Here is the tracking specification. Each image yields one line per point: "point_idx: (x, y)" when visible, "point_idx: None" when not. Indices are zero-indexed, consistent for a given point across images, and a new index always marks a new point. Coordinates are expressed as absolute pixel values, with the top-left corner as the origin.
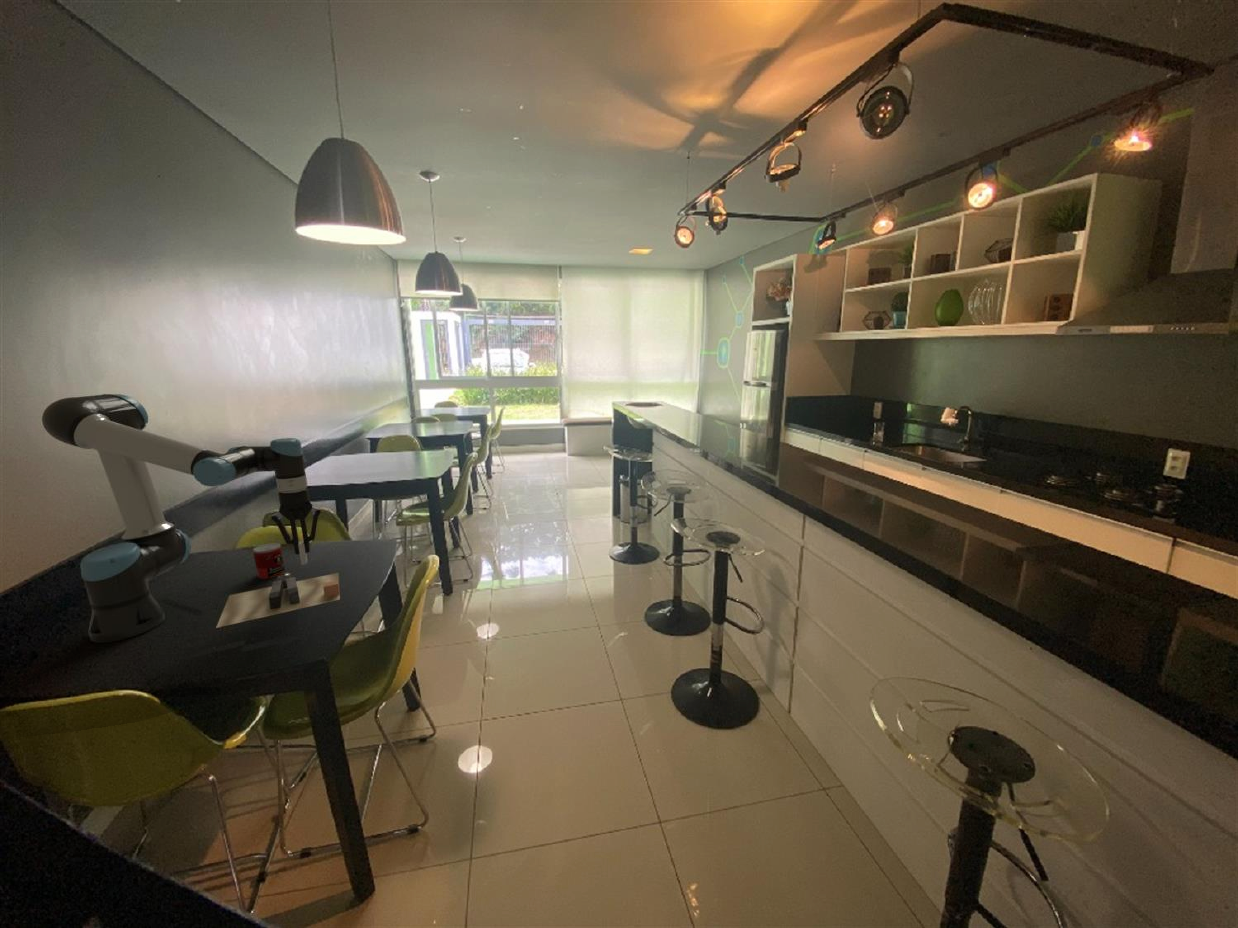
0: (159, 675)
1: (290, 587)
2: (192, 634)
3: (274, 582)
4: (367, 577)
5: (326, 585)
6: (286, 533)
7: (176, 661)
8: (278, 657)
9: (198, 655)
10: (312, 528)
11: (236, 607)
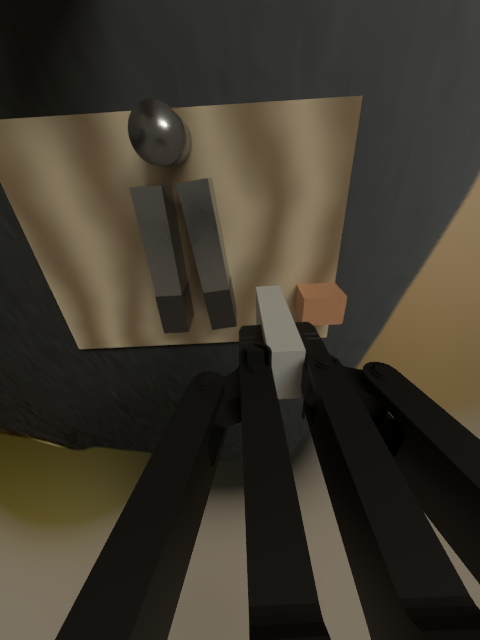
0: (72, 430)
1: (208, 281)
2: (33, 332)
3: (138, 201)
4: (434, 187)
5: (311, 319)
6: (202, 507)
7: (72, 408)
8: (225, 449)
9: (99, 406)
10: (430, 509)
11: (68, 258)
